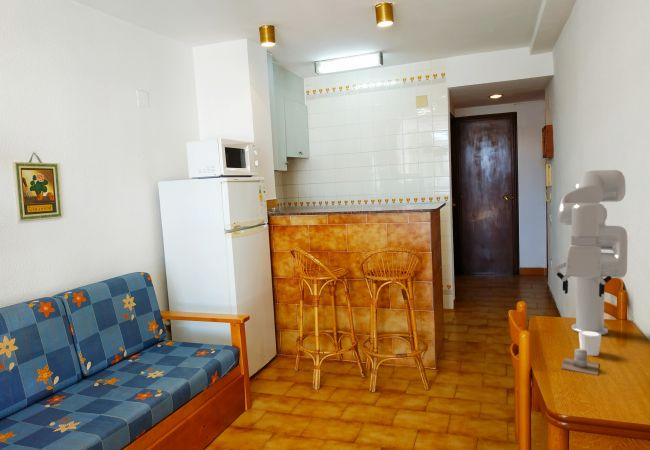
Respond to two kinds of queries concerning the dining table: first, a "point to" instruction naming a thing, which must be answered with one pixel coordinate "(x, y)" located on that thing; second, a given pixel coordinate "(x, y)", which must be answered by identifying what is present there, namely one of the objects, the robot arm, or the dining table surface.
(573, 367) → the lid
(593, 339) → the white cup
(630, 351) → the dining table surface
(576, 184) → the robot arm
